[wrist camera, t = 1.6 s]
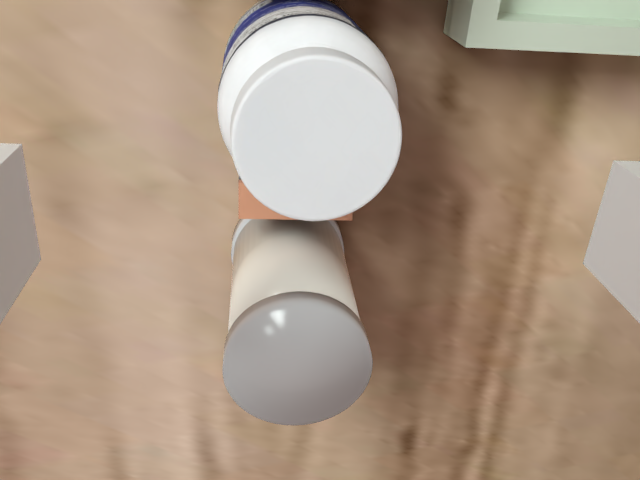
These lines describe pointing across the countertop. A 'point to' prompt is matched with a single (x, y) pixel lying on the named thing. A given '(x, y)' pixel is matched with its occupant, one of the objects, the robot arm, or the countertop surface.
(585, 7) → the tray
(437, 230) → the countertop surface
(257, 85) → the pill bottle
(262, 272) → the white rounded cylinder
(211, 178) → the countertop surface
